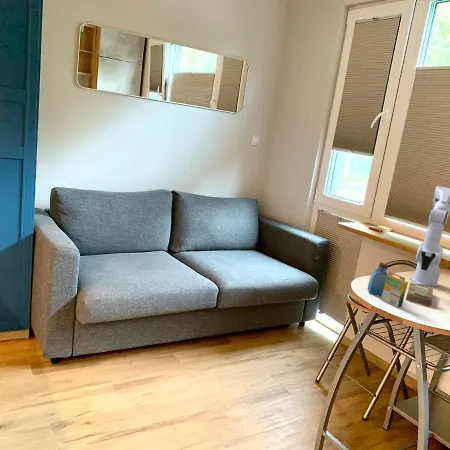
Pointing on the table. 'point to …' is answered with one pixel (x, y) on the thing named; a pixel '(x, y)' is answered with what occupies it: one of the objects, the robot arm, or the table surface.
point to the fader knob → (421, 290)
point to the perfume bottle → (378, 280)
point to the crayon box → (394, 290)
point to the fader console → (419, 296)
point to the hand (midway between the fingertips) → (423, 269)
